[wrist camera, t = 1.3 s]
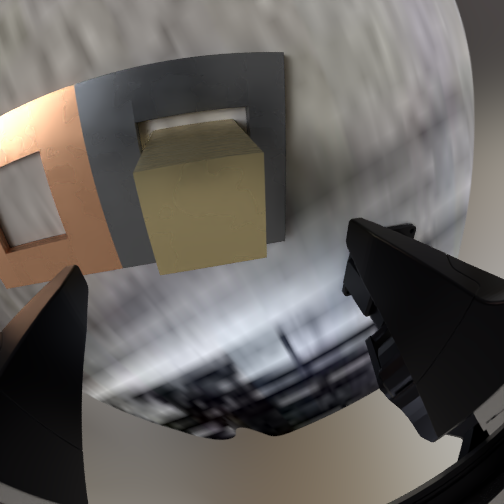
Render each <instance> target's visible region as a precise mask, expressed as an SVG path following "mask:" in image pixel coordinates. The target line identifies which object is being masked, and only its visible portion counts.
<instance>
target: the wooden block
mask: <svg viewBox="0 0 504 504" xmlns="http://www.w3.org/2000/svg"><path fill="white" fill-rule="evenodd" d="M133 176H134V180H135V185H136V189H137V193H138V197H139V201H140V205H141V209H142V213H143V217H144V221H145V225H146V228H147V232H148V236H149V239H150V243H151V246H152V250H153V253H154V256H155V260H156V263H157V266H158V270H159V273H160V275H165V274H171V273H177V272H183V271H189V270H195V269H201V268H207V267H213V266H219V265H225V264H230V263H236V262H242V261H248V260H254V259H260V258H265V257H267V250H266V207H265V172H264V152H263V151H262V150H261V149H260V148H259V147H258V146H257V145H256V144H255V143H254V142H253V141H252V139H251V138H250V137H249V136H248V135H247V134H246V133H245V132H244V131H243V130H242V129H241V128H240V127H239V126H238V125H237V124H236V123H235V122H234V121H233V119H228V120H219V121H211V122H203V123H196V124H189V125H183V126H177V127H171V128H165V129H160V130H155V131H153V132H152V134H151V136H150V138H149V140H148V142H147V144H146V146H145V148H144V150H143V152H142V154H141V156H140V159H139V161H138V163H137V165H136V167H135V169H134V172H133Z"/></svg>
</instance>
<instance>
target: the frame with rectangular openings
mask: <svg viewBox="0 0 504 504" xmlns="http://www.w3.org/2000/svg"><path fill="white" fill-rule="evenodd" d="M243 106H246V119H247V135H248V136H249V137H250V138H251V139H252V141H253V142H254V143H255V144H256V145H257V146H258V147H259V148H260V149H261V150H262V151H263V152H264V172H265V207H266V244H269V243H275V242H281V241H285V196H286V135H285V80H284V52H252V53H231V54H218V55H207V56H198V57H190V58H183V59H176V60H170V61H164V62H158V63H153V64H148V65H143V66H139V67H134V68H130V69H126V70H122V71H118V72H114V73H110V74H107V75H103V76H100V77H96V78H93V79H90V80H87V81H83V82H80V83H77V84H75V85H72V86H69V87H66V88H63V89H61V90H58V91H55V92H53V93H50V94H48V95H45V96H43V97H41V98H38V99H36V100H34V101H31V102H29V103H27V104H25V105H23V106H21V107H18V108H16V109H14V110H12V111H10V112H8V113H6V114H4V115H3V116H1V117H0V167H1V166H4V165H6V164H8V163H10V162H13V161H15V160H18V159H20V158H22V157H25V156H27V155H30V154H32V153H35V152H38V151H39V152H40V156H41V159H42V163H43V167H44V170H45V173H46V177H47V180H48V183H49V186H50V190H51V193H52V196H53V199H54V202H55V204H56V207H57V210H58V213H59V216H60V218H61V221H62V223H63V226H64V229H65V231H66V234H62V235H58V236H54V237H50V238H46V239H42V240H38V241H34V242H30V243H26V244H22V245H18V246H15V247H11V248H10V247H9V245H8V243H7V240H6V238H5V236H4V234H3V232H2V229H1V227H0V278H1V280H2V282H3V283H4V285H5V287H6V288H7V289H8V288H14V287H19V286H25V285H30V284H36V283H41V282H47V281H51V280H52V279H53V278H54V277H55V276H56V275H57V274H58V273H59V272H61V271H62V270H63V269H64V268H65V267H66V266H70V265H77V266H78V267H79V268H80V270H81V272H82V274H83V275H87V274H92V273H98V272H104V271H110V270H115V269H121V268H127V267H133V266H139V265H144V264H150V263H156V260H155V256H154V253H153V250H152V246H151V243H150V239H149V236H148V232H147V228H146V225H145V221H144V217H143V213H142V209H141V205H140V201H139V197H138V193H137V189H136V185H135V180H134V176H133V172H134V169H135V167H136V165H137V163H138V161H139V159H140V156H141V154H142V147H141V141H140V136H139V130H138V124H137V122H141V121H145V120H150V119H155V118H161V117H166V116H172V115H178V114H184V113H190V112H197V111H205V110H213V109H222V108H231V107H243Z"/></svg>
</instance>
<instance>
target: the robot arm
mask: <svg viewBox="0 0 504 504" xmlns="http://www.w3.org/2000/svg"><path fill="white" fill-rule="evenodd" d="M415 231H416V227H415V226H414V225H413V224H406V225H400V226H394V227H388V228H386V227H383V226H381V225H378V224H376V223H373V222H371V221H368V220H366V219H363V218H355V219H351V220H350V221H349V224H348V231H347V238H346V244H347V247H348V250H349V252H350V254H349V259H348V261H347V266H346V271H345V276H344V281H343V283H344V284H343V289H342V292H343V294H344V295H345V296H350V295H351V296H352V297H353V299H354V300H355V302H356V303H357V305H358V307H359V308H360V310H361V311H362V313H363V314H364V315H365V316H366V317H367V316H370V317H371V319H372V320H373V322H374V323H375V325H376V327H377V328H378V330H377V331H376V332H375V333H374V334H373V335H372V336H370V337H368V338H367V339H366V340H365V342H366V345H367V348H368V352H369V355H370V358H371V362H372V365H373V368H374V372H375V375H376V378H377V382H378V385H379V388H380V390H381V391H382V392H383V393H384V394H385V396H386V397H387V398H388V399H389V400H390V401H391V402H392V403H394V404H395V405H396V406H397V407H399V408H400V409H401V410H402V411H403V412H404V413H405V415H406V416H407V417H408V418H409V420H410V421H411V423H412V424H413V426H414V427H415V429H416V430H417V432H418V433H419V435H420V436H421V437H422V438H424V439H426V440H428V441H430V442H435V441H437V440H438V439H440V438H441V437H442V436H444V435H450V436H455V437H459V438H461V439H462V440H463V442H462V446H461V450H460V454H459V458H458V461H457V462H456V463H455V464H453V465H452V466H451V467H449V468H447V469H446V470H445V471H443V472H442V473H440V474H438V475H437V476H435V477H434V478H432V479H431V480H429V481H427V482H426V483H424V484H423V485H421V486H419V487H418V488H416V489H414V490H412V491H410V492H409V493H407V494H405V495H403V496H401V497H400V498H398V499H396V500H394V501H392V502H390V503H388V504H504V279H502V278H500V277H497V276H495V275H493V274H490V273H488V272H486V271H483V270H481V269H479V268H477V267H474V266H472V265H470V264H467V263H465V262H463V261H461V260H459V259H457V258H454V257H452V256H450V255H448V254H447V255H446V254H445V253H444V252H441V251H439V250H437V249H435V248H433V247H430V246H428V245H426V244H424V243H421V242H419V241H417V240H414V239H413V238H414V235H415ZM87 308H88V285H87V282H86V280H85V278H84V276H83V274H82V272H81V270H80V268H79V267H78V266H77V265H70V266H66V267H65V268H64V269H63V270H62V271H61V272H59V273H58V274H57V275H56V276H55V277H54V278H53V279H52V280H51V281H50V282H49V283H48V284H47V285H46V286H45V287H44V288H43V289H42V290H40V291H39V292H38V293H37V294H36V295H35V296H34V297H33V298H32V299H31V300H30V301H29V302H28V303H27V304H26V306H25V307H24V308H23V309H22V310H21V311H20V312H19V313H18V314H17V315H16V316H15V317H14V318H13V319H12V320H11V321H10V322H9V324H8V325H7V326H6V327H5V328H4V329H3V330H2V332H0V504H88V499H87V493H86V483H85V473H84V462H83V451H82V412H81V411H82V380H83V364H84V352H85V342H86V332H87Z"/></svg>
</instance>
